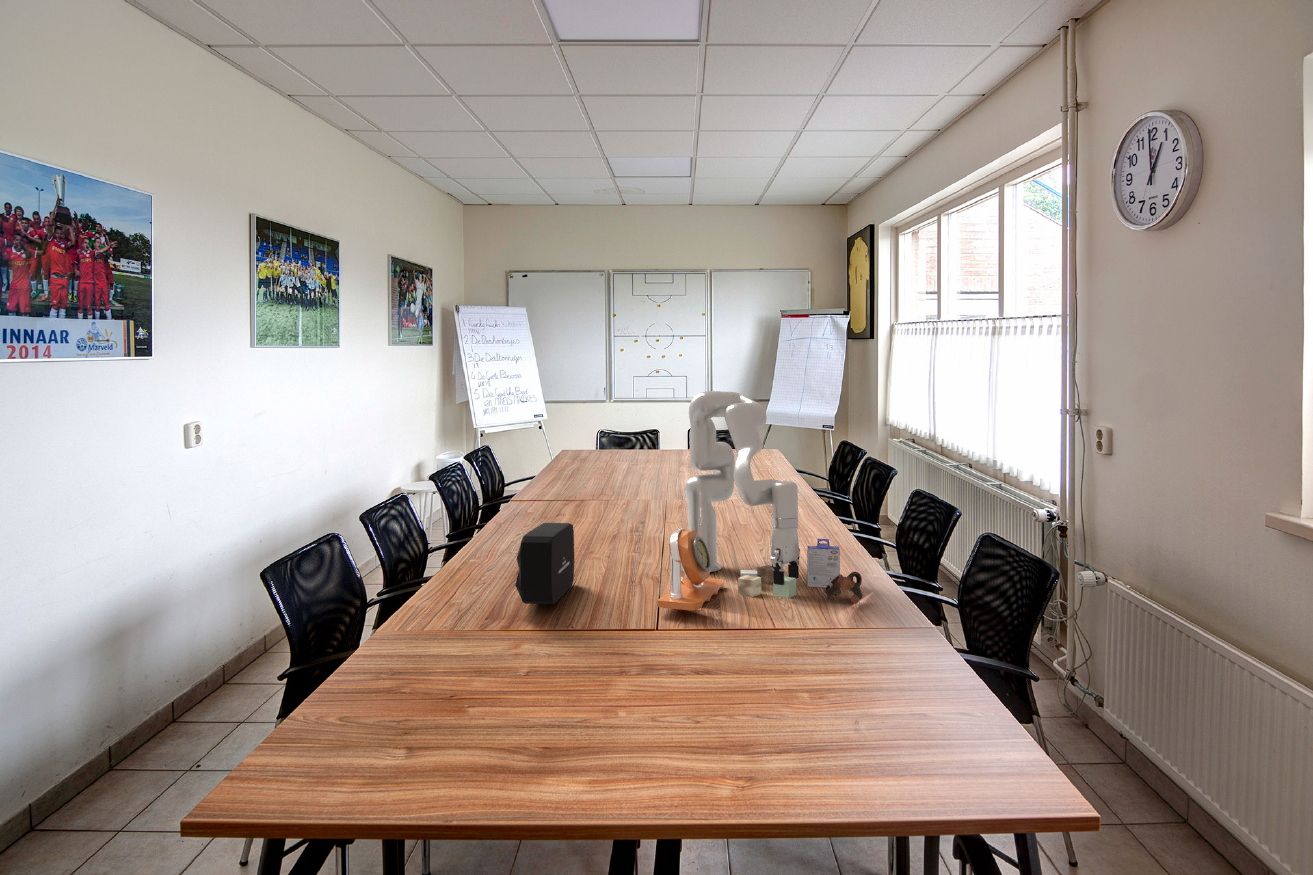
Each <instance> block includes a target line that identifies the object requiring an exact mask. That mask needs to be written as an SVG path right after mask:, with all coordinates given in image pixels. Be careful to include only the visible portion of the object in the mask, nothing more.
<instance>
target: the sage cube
mask: <svg viewBox="0 0 1313 875" xmlns="http://www.w3.org/2000/svg"><path fill="white" fill-rule="evenodd" d="M772 588H773V589H772V590H773V591H772V592H773V594H772V596H774V597H778V598H779V597H780V598H785V599H790V598H792V597H794V596H797V579H796V578H792V577H788V576H785V575H784V585H777V584H774V581H773V583H772Z"/></svg>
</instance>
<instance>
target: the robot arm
mask: <svg viewBox="0 0 1313 875" xmlns="http://www.w3.org/2000/svg"><path fill="white" fill-rule="evenodd" d="M688 417H689V423H690V424H689V425H690V453H689V455H690V456H689V457H690V465H691V467H692V468H693V469H694V470H695V471H699V472H700V471H703V472H704V471H712V473H710V474H709V473H706V474H698V475H697V474H696V475H694V476H691V477H690V478H689V479H688V480H687V481H686V483H685V485H684V486H685V487H684V492H685V498H686V499H685V500H686V504H687V520H688V521H687V523H688V526H687V528H688V529H687V530H695V531H696V533H697V534H698V536H699V537H701V538H702V539H703V541H704V542H705V544H706V546H707V548H708V551H709V555H710V561H711V567H710V570H709V572H710V573H713V572H718V571H720V570H721V569H722V564H720V563H718V560H717V558H718V557H717V556H718V555H717V554H718V552H717V546H718V544H717V537H718V536H717V529H718V528H717V526H718V525H717V522H718V521H717V520H718V519H717V514H716V511H715V508H714V506H713V504H712V503H717V502H719V503H720V502H722V501H723V502H725V501H727V500H729V499H730V498H731V497H732V496H733V493H734V490H735V486H736V489H737V492H738V494H739V497H740V499H741V501H743V503H744V504H746V505H747V506H752V507H758V506H765V505H767V506H768V505H771V512H772V513H771V514H772V516H771V517H772V520H771V521H772V525H771V526H772V531H771V540H770V563H771V566H772V567H773V581H774V584H777V585H784V576H785V571H784V567H785V564H788V565H787V573H788V574H787V577H792V578H796V580H797V579H799V578H800V576H799V574H800V573H799V572H800V570H799V565H800V558H801V557H800V556H801V555H800V553H801V548H800V546H799V534H798V533H799V532H798V529H799V497H798V496H799V494H798V493H799V492H798V491H799V490H798V484H797V483H796V482H794V481H788V480H786V481H781V480H778V479H772V478H771V479H759V480H756V479H755V478H754V475H753V473H752V469H751V462H752V459H753V457H754V456H755V455H757V454H758V453H760V452H761V451H762V450H763V448H764V443H763V441H762V438H761V436H760V433H759V429H761V428H763V427H764V426H765V424H766V423H767V412H766V409H765V408H764V406H763V405H761V404H760V403H759V402H757V401H755V400H753V399H752V398H750V397H748V396H746V395H744V394H741V393H739V392H736V391H720V390H719V391H718V390H717V391H715V390H713V391H712V390H711V391H702V392H698V393H697V394H695V396H694V397H693V398H692V399H691V400H690V403H689V406H688ZM712 418H724V420H725V423H726V427H727V429H728V433H729V435H730V438H731V440H732V443H733V446H734V449H735V451H736V457H735V454H734V450H733V448H732V446H731V445H730V444H729V443H727V442H725V441H717V428H716V426H715V423H714V421H713V420H712Z"/></svg>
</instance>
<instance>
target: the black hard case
mask: <svg viewBox="0 0 1313 875" xmlns="http://www.w3.org/2000/svg"><path fill="white" fill-rule="evenodd" d="M516 562H517V566H518V572H517V576H516V581H515V587H516V590H517V592H518V594H519V597H520V598H521V601H522V603H523V604H527V605H554V604H556V603H557V602H558V601H559V600H561V599H562V597H563V596H565V594H566V593H567V592H568V591H569V589H570V588H571V587H572V585H573V584H574V580H575V578H574V577H575V575H574V574H575V531H574V525H573V524H572V523H569V522H543V523H541V524H539V525H538V526H536V527H534V528H533V529H531V530H529V531H528V532H526V533H525V534H524V535H522V538H521V542H520V546H519V548H518V553H517V555H516Z"/></svg>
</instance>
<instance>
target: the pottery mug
mask: <svg viewBox="0 0 1313 875" xmlns="http://www.w3.org/2000/svg"><path fill="white" fill-rule="evenodd" d="M854 578H855V579H856V581H854ZM862 580H863V578H862V576H861V573H859V572H858V571H852V572H850V573H849V574H848V575H847V576H843V575H842V574H841V573H840V575H838V576H837V577H835V578H834V579H833V580H832V581H831V583H832V584H833V585H832V586H831V587H830V586H829V585H827V587H824V590H823V592H824V594H826V599H828V600H829V599H830V600H831V601H833V600H834V598H833V596H834V597H838V596H840V595H842V591H841V587H842V588H843V589H844V590H846V591H850V592H852V594H853V595H852V596H851V598H850V601H851V602H852V603H853V604H854V605H855V606H856V605H857V604H858V603H859V602H860V601H861V599H863V596H864V594H863V593H862V591H861V585H862V582H863V581H862Z"/></svg>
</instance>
